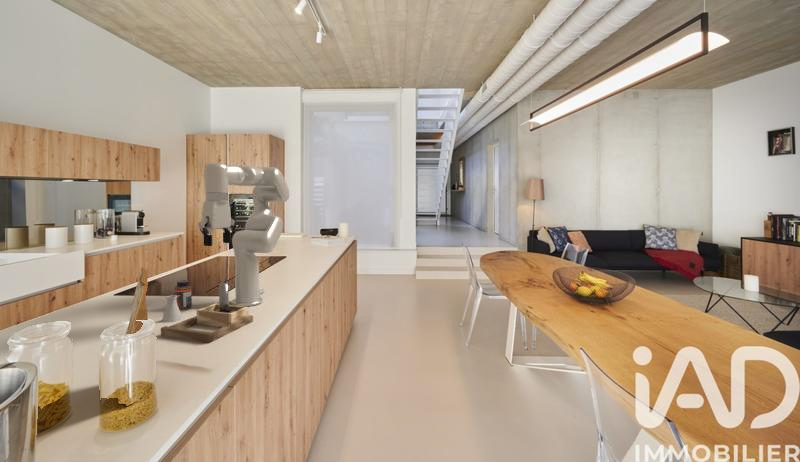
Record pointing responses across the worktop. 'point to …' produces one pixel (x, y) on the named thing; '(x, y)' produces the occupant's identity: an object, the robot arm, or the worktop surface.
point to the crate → (220, 315)
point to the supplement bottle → (183, 294)
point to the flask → (172, 310)
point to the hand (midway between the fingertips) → (217, 244)
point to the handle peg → (223, 297)
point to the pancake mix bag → (139, 304)
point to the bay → (201, 336)
